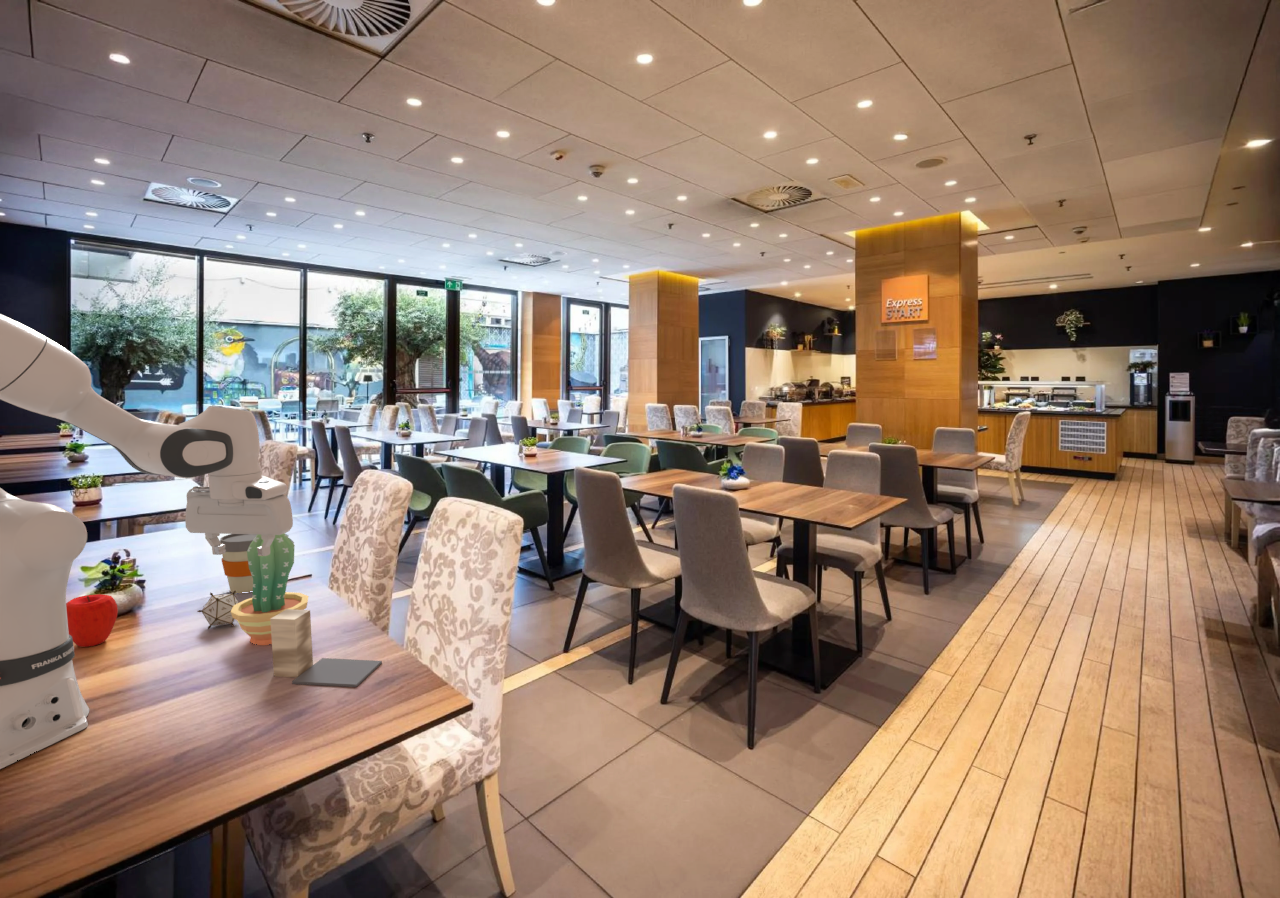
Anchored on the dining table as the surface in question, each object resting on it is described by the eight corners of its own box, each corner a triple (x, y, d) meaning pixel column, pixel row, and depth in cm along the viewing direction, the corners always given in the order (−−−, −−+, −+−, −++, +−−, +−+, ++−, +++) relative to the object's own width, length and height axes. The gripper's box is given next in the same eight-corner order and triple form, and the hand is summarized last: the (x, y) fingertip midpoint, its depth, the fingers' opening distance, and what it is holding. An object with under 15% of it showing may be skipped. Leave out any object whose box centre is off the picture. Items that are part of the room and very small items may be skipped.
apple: (126, 632, 141) (123, 587, 140) (107, 648, 133) (102, 601, 131) (79, 637, 138) (75, 591, 137) (56, 653, 130) (51, 605, 129)
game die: (225, 643, 145) (214, 620, 138) (196, 627, 146) (184, 604, 139) (256, 613, 151) (247, 591, 145) (228, 599, 152) (218, 576, 146)
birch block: (297, 677, 121) (294, 619, 120) (273, 676, 121) (270, 618, 120) (312, 665, 126) (310, 610, 125) (289, 664, 126) (286, 609, 125)
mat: (356, 687, 118) (356, 684, 118) (292, 683, 119) (292, 681, 118) (381, 663, 128) (381, 660, 127) (322, 660, 128) (322, 658, 128)
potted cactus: (326, 629, 144) (321, 526, 142) (267, 656, 130) (261, 542, 127) (277, 619, 149) (271, 520, 147) (215, 645, 135) (208, 535, 132)
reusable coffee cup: (231, 582, 175) (228, 532, 174) (280, 579, 179) (277, 529, 177) (215, 597, 164) (211, 543, 162) (268, 593, 167) (265, 540, 166)
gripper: (173, 488, 118) (179, 558, 120) (274, 491, 117) (279, 560, 118) (198, 483, 124) (204, 548, 126) (295, 485, 123) (299, 551, 125)
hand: (241, 554), depth 122 cm, fingers open, 8 cm apart
